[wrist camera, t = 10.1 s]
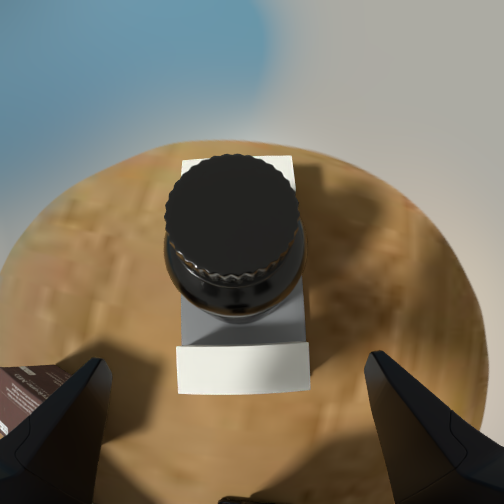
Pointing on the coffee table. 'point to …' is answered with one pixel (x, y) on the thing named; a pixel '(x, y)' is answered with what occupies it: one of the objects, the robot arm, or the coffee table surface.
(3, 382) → the box
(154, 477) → the coffee table surface
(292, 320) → the rail plate
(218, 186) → the supplement bottle
